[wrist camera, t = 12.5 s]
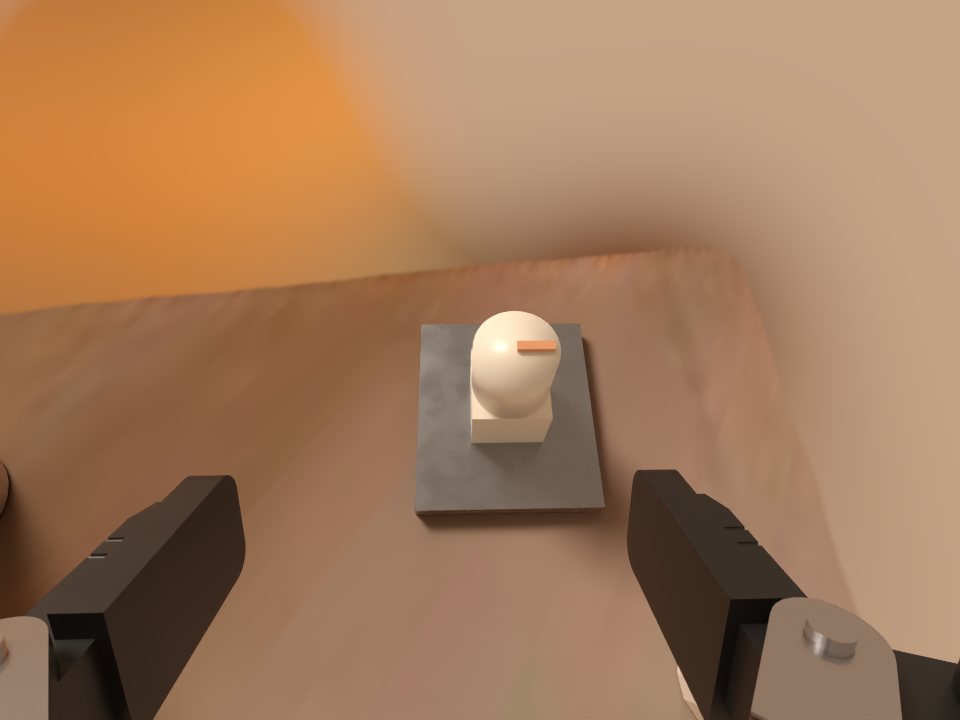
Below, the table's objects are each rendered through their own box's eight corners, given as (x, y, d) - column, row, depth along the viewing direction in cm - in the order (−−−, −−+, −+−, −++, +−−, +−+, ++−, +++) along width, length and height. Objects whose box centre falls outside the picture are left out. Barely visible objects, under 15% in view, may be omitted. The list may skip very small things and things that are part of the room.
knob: (471, 443, 39) (473, 385, 30) (470, 378, 42) (471, 307, 33) (542, 442, 39) (566, 384, 30) (537, 377, 42) (557, 307, 33)
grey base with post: (416, 514, 38) (408, 496, 33) (422, 333, 46) (417, 294, 40) (600, 511, 38) (621, 492, 33) (576, 332, 46) (591, 293, 41)
